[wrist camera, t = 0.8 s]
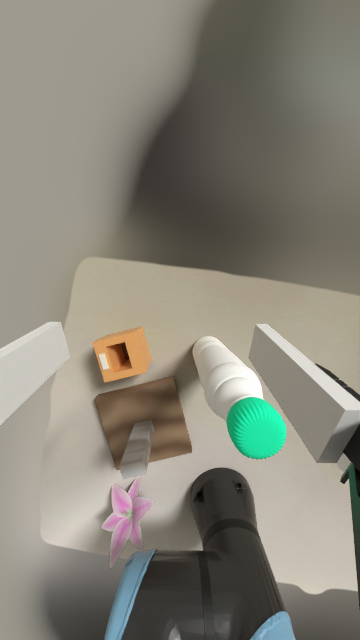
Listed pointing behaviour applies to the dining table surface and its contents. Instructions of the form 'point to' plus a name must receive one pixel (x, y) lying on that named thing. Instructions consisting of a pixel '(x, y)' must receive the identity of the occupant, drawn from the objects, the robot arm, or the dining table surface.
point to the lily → (126, 519)
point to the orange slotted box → (114, 358)
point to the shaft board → (142, 410)
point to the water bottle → (238, 400)
